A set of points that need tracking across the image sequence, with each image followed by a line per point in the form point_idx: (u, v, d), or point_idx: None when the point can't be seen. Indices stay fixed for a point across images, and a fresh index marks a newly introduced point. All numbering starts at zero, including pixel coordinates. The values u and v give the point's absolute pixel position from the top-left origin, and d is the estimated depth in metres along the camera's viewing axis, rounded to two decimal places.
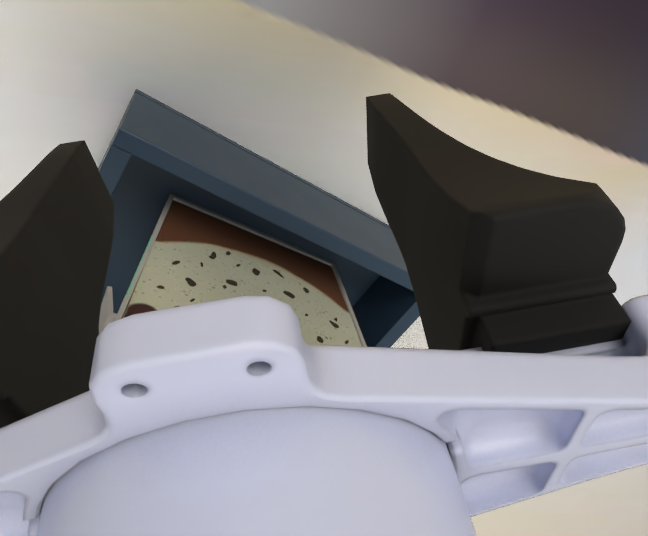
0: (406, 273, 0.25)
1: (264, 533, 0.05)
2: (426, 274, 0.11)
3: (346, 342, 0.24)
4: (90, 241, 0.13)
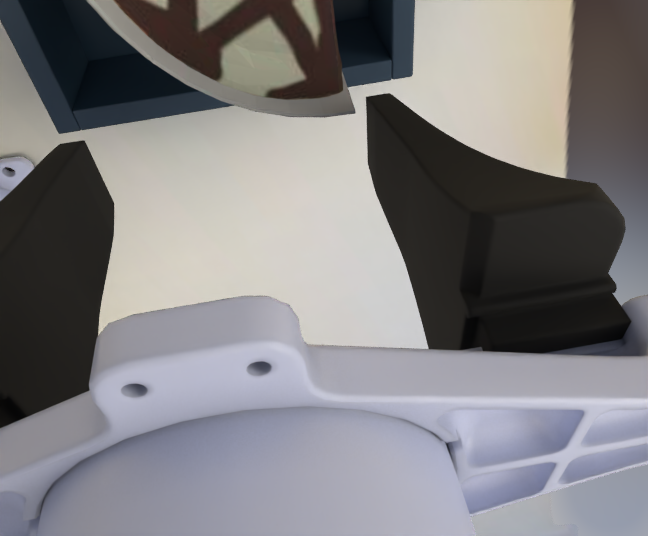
0: (412, 12, 0.18)
1: (263, 535, 0.05)
2: (426, 274, 0.11)
3: None
4: (90, 241, 0.13)
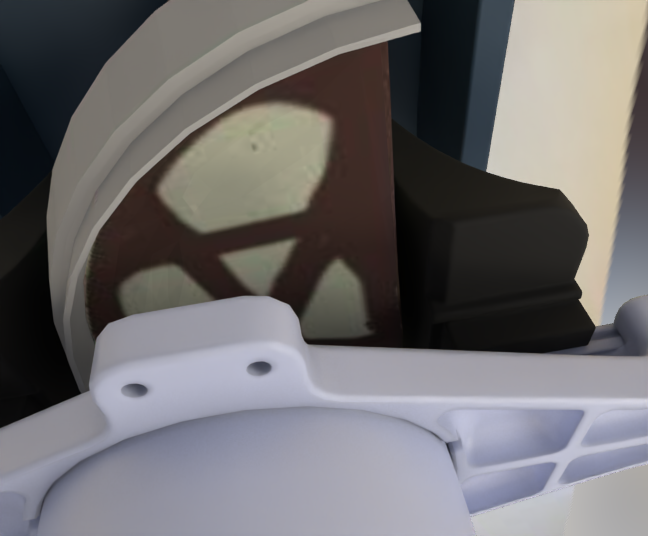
0: None
1: (264, 533, 0.05)
2: (399, 279, 0.11)
3: None
4: None
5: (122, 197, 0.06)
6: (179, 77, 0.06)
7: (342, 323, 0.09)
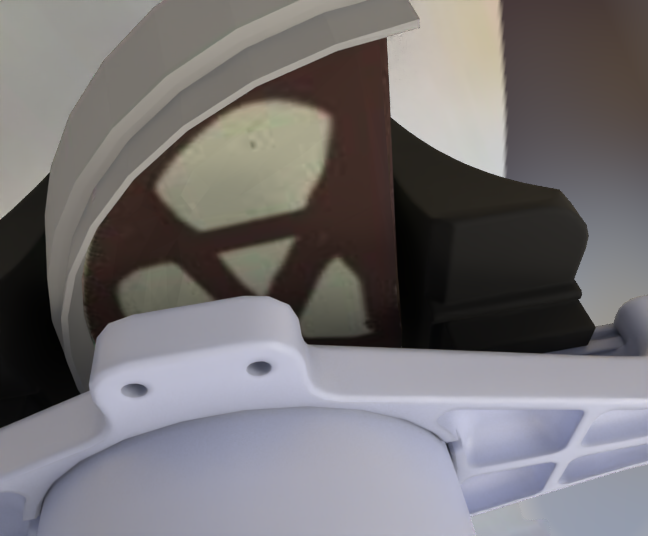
0: None
1: (264, 533, 0.05)
2: (398, 279, 0.11)
3: None
4: None
5: (120, 195, 0.06)
6: (177, 74, 0.06)
7: (342, 322, 0.09)
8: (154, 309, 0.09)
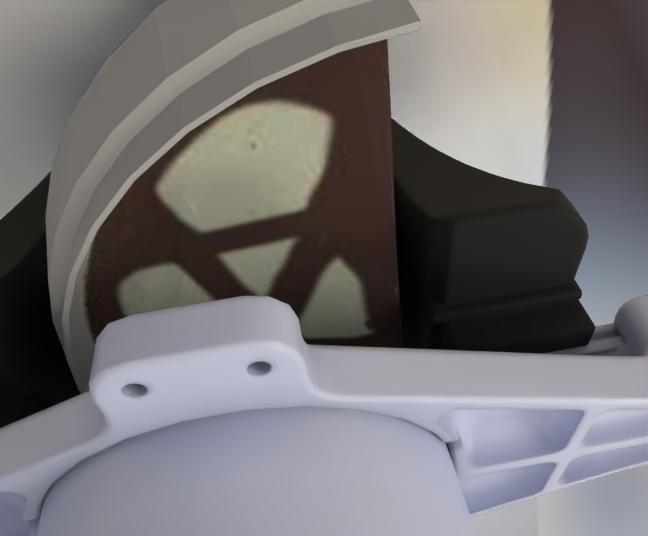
0: None
1: (263, 533, 0.05)
2: (398, 279, 0.11)
3: None
4: None
5: (121, 196, 0.06)
6: (178, 75, 0.06)
7: (342, 322, 0.09)
8: (155, 310, 0.09)
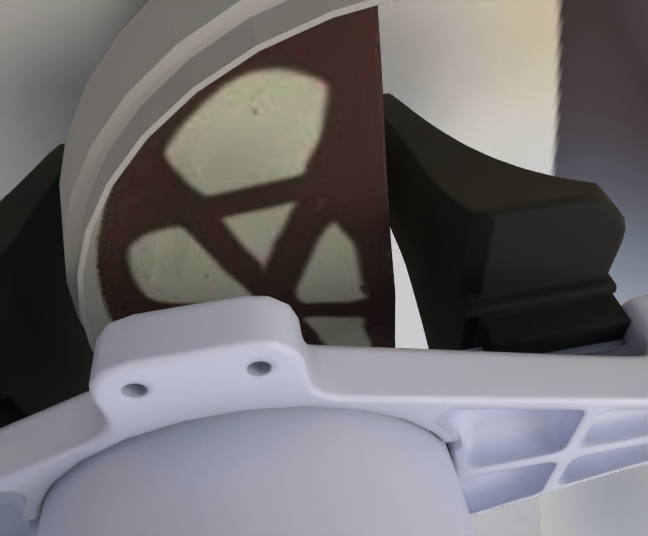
0: None
1: (263, 535, 0.05)
2: (426, 274, 0.11)
3: None
4: None
5: (134, 153, 0.07)
6: (186, 42, 0.06)
7: (338, 286, 0.10)
8: (162, 273, 0.09)
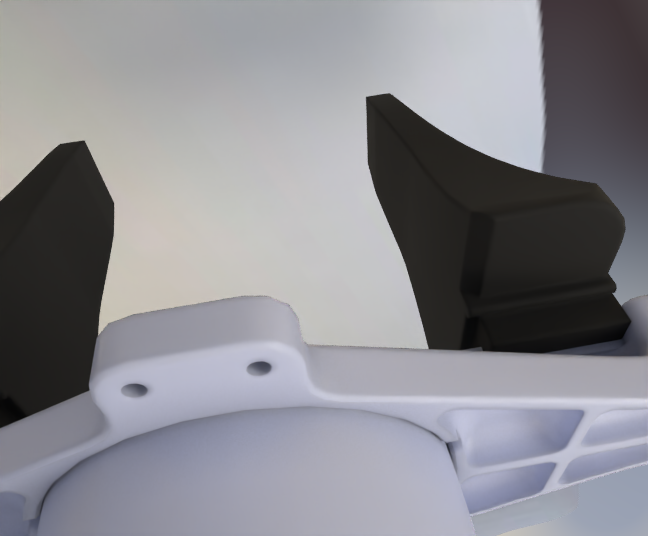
0: None
1: (264, 535, 0.05)
2: (426, 274, 0.11)
3: None
4: (90, 241, 0.13)
5: None
6: None
7: None
8: None
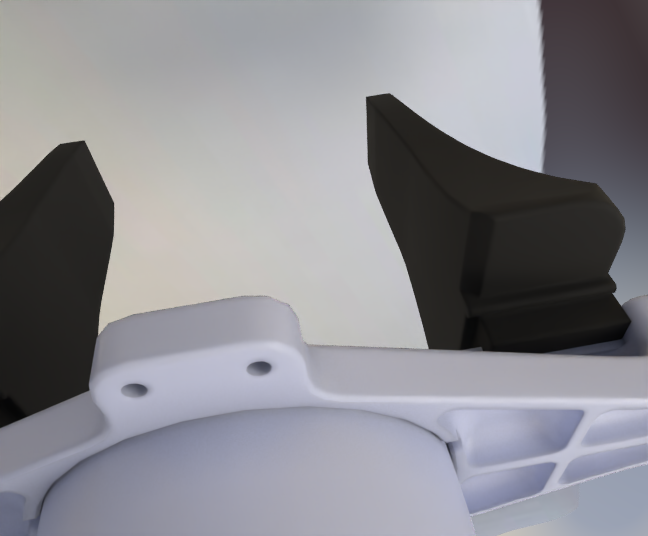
0: None
1: (263, 534, 0.05)
2: (426, 274, 0.11)
3: None
4: (90, 241, 0.13)
5: None
6: None
7: None
8: None
